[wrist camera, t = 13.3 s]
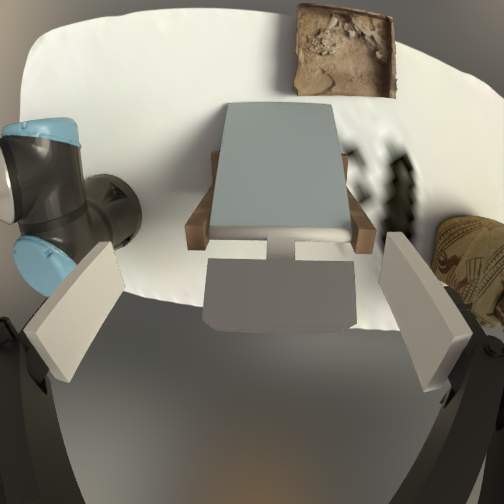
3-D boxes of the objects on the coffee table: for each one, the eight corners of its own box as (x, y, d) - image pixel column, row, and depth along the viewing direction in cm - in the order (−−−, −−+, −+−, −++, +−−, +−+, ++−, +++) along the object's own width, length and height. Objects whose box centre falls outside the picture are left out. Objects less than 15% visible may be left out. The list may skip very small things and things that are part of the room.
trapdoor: (207, 329, 33) (191, 319, 26) (231, 121, 45) (225, 88, 39) (348, 332, 31) (367, 323, 25) (328, 122, 44) (333, 90, 37)
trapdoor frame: (217, 218, 52) (188, 282, 35) (213, 151, 46) (175, 186, 29) (340, 220, 50) (368, 286, 34) (346, 154, 44) (386, 190, 28)
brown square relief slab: (294, 96, 37) (283, 3, 30) (292, 96, 41) (282, 10, 33) (402, 99, 35) (393, 10, 28) (393, 98, 39) (385, 15, 31)
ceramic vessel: (404, 272, 55) (464, 390, 29) (458, 185, 44) (564, 270, 18) (456, 298, 57) (511, 395, 31) (505, 226, 47) (585, 308, 21)
